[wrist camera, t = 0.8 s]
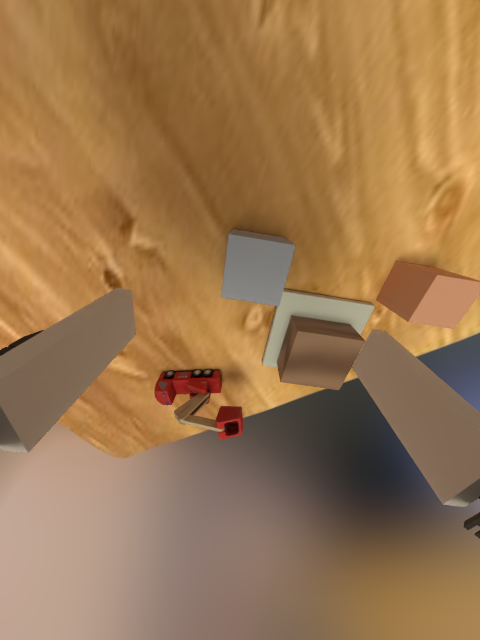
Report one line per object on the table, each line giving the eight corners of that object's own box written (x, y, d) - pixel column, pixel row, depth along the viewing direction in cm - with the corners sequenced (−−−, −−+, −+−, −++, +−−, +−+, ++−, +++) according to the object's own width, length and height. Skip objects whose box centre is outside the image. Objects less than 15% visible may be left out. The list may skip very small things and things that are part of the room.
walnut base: (291, 315, 27) (297, 330, 23) (350, 324, 27) (365, 341, 23) (276, 362, 30) (280, 381, 27) (328, 369, 31) (339, 390, 27)
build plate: (280, 288, 26) (281, 291, 25) (370, 302, 27) (375, 306, 26) (261, 361, 32) (262, 365, 31) (336, 371, 32) (338, 376, 31)
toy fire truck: (159, 370, 33) (129, 424, 25) (242, 367, 33) (241, 422, 24) (164, 385, 35) (138, 441, 27) (244, 382, 34) (243, 439, 26)
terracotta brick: (395, 260, 24) (437, 274, 19) (435, 267, 24) (488, 283, 19) (376, 299, 26) (408, 321, 21) (412, 305, 27) (453, 328, 21)
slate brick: (233, 228, 23) (228, 234, 18) (284, 237, 23) (295, 245, 18) (226, 279, 26) (221, 297, 21) (272, 287, 26) (279, 306, 21)
